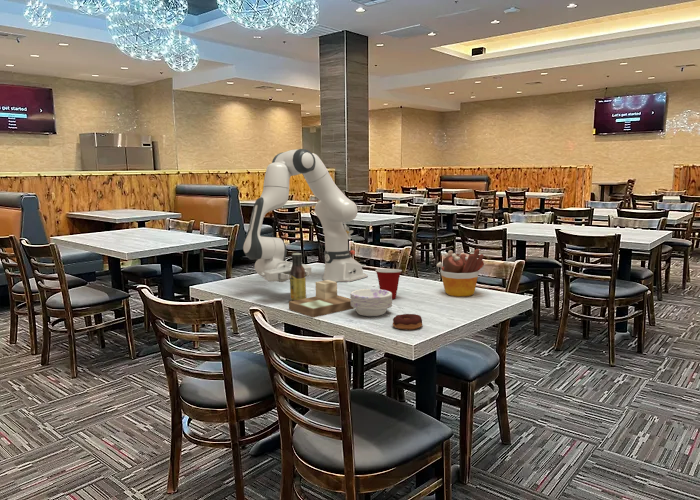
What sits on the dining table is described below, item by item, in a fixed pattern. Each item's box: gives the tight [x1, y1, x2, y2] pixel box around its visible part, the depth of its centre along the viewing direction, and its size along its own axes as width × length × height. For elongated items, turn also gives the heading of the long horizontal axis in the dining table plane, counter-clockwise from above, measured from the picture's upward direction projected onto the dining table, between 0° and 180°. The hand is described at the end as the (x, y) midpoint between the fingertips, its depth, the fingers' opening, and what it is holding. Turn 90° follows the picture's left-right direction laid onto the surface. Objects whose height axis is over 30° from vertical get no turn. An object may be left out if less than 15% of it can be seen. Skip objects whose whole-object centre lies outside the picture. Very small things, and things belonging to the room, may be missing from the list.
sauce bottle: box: [289, 252, 307, 301], centre depth 214 cm, size 7×6×20 cm
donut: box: [392, 313, 423, 331], centre depth 178 cm, size 10×10×4 cm
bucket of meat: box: [436, 248, 485, 298], centre depth 222 cm, size 20×16×20 cm
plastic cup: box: [374, 268, 403, 300], centre depth 219 cm, size 11×11×12 cm
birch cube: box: [314, 280, 338, 300], centre depth 210 cm, size 6×6×6 cm
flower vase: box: [322, 222, 354, 241], centre depth 287 cm, size 13×18×25 cm
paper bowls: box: [349, 288, 393, 317], centre depth 196 cm, size 15×15×8 cm
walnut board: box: [288, 294, 355, 319], centre depth 204 cm, size 20×16×3 cm
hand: (298, 275), depth 213 cm, fingers open, 7 cm apart
